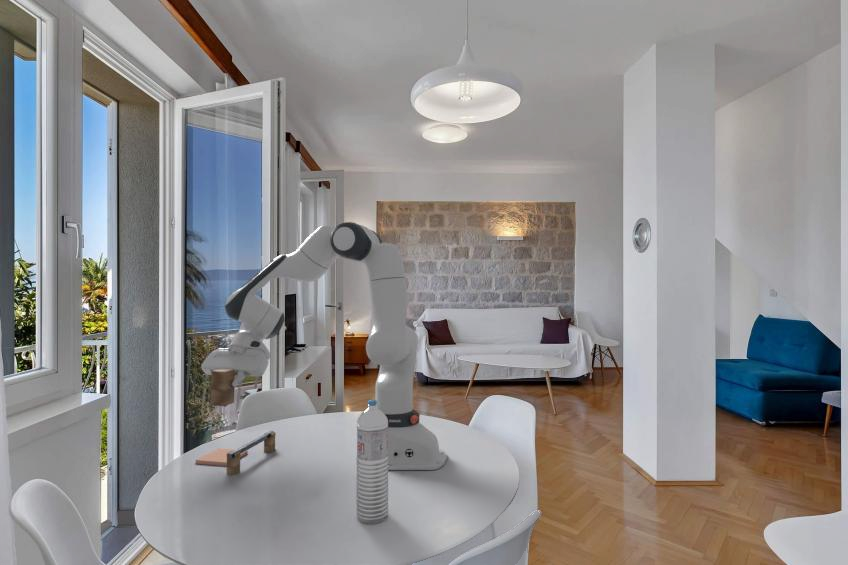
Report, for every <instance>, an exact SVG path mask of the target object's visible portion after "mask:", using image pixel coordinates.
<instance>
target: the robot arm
mask: <svg viewBox="0 0 848 565" xmlns="http://www.w3.org/2000/svg"><path fill="white" fill-rule="evenodd" d="M340 257H341V258H344V259H348V260H351V261H353V262H358V263H363V264H364V265H365V266H366V268H367V274H368V275H367V276H368V285H369V298H370V308H371V309H370V320H369V332H368V333H369V334H368V338H367V340H366V344H365V353H366V356H367V357H368V359H369V360H370V361H371V362H372V363H374V364H376V365H378V366H379V371H378V374H377V379H376V381H375V394H374V395H375V396H374V398H375V399H374V400H376V401H377V403H376V404H377V405H376V407H377V408H378V409H380V410H381V411H382V412H383V413H384V414H385V415H386V417H387V419H388V427H387V428H388V471H435V470H438V469H440V468H441V467H443V466H444V465H445V464H446V462H447V460H448V458H447V452H446V451H445V450H442V449H440V448H439V447H440V446H439V441H438V438H437V436H436V434H435V433H433V432H432V431H431V430H429V429H428V428H427V427H426V426H424V424H422V423H421V422H420V415H421V414H420V411H419V410H418V411H417V410H416V409H414V408H413V407H414V405H413V403H414V402H413V401H414V400H413V397H414V396H413V395H414V394H413V392H414V391H413V385H414V375H415V374H414V373H415V369H416V362H417V360H416V359H417V350H418V346H419V336H418V334H417V332H416V331H415V330H414V329H413V328H411V327H410V326H408V325H406V324H407V322H406V321H407V311H408V306H409V301H408V300H409V299H408V290H407V282H406V281H407V280H406V274H405V273H406V271H405V266H404V262H403V258H402V254H401V251H400V248H399V247H397V245H395V244H392V243H390V242H382V239H381V237H380V236H379V235H378V234H377V232H375V231H374V230H371V229H369V228H368V227H367V226H364V225H363V224H359V223H356V222H352V221H348V222H342V223H340V224H337V225H336V226H335V227H333V226H332V225H331V226H330V225H327V224H326V225H325V224H324V225H321V226H319V227H318V228H316V229H315V230H314V231H313V232H312V233H311V234H310V235H309V236H308V237H307V238H306V239H305V240H304V241H303V243H302V244H301V245H300V246H299V247H298V248H297V249H296V250H295V251H293V252H292V253H289V254H280V255H278V256H276V257H275V258H273V259H272V260H271V261H270V262H269V263H267V264H266V265H265V266H264V267H262V268H261V270H260V271H258V272H257V273H256V274H255V275H254V276H253V277H252V278H250V279H249V280H248V281H247V282H246V283H245V284H243V285H242V286H241V287H240V288H238V289H237V290H235V291H234V292H232V294H230V296H229V297H227V299H226V302H225V304H224V308H225V311H226V315H227V317H229V318H230V319H233V320H235V321H237V322H240V323H241V324H240V326H239V330H238V332H236V333H235V334H234V337H232V339H231V341H230V342H229V345H228V347H227V348H226V347H225V348H223V347H219V348H217V349H214V350H212V352H211V353H209V354H208V356H207V357H206V358H205V359H204V361H203V362H202V364H201V366H200V368H201V370H202V371H203V373H204V374H205V375H206V376H207V375H208V376H210V375H211V372H212V371H214V370H218V369H235V377H234V379H231V382H230V383H229V385H230V387H234V388H237V386H238V384H239V383H241V382H242V381H243V380H244V379H245V378H246V377H254V378H255V377H256V378H257V377H258V378H259V377H262V376H263V375H264V374H265V372H266V370H267V368H268V366H269V360H270V359H271V357H272V356H271V353H270V351H269V349H268V348H267V346H266V344H265V343H264V342H263V341H264V340H270V339H272V338H274V337H276V336H278V334H279V333H280V331H281V329H282V328H283V325H284V324H285V319H286V318H285V314H284V312H283V311H282V309H280V308H278V307H277V306H276V305H274V304H272V303H269V302H268V301H267V300H265V299H263V298H261V297H260V296H259V295H257V293H258V292H259V291H260V290H262V289H263V287H265V286H266V285H267V284H269V282H271V281H272V280H274V279H279V278H280V279H288V280H293V281H296V282H301V283H310V282H311V283H312V282H316V281H318V280H319V279H321V278H322V277H323V276H324V274H326V273H327V271H328V270H329V269H330V268H331V266H332V265H333V263H335V261H336V260H337V259H338V258H340Z"/></svg>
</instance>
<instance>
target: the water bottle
mask: <svg viewBox="0 0 848 565" xmlns="http://www.w3.org/2000/svg"><path fill="white" fill-rule="evenodd" d="M376 403H377V401H376V400H375V399H369V400H368V401H367V406H368V407H367V408H365V409H364V410H363V411H362V412H361V413H360V415H359V416H358V417H357V420H356V428H357V429H356V518H357V520H358V521H359V522H360V523H362V524H364V525H365V524H366V525H376V524H380V523H382V522H384V521H385V520H386V519H387V518H388V515H389V470H388V428H387V427H388V419H387V417H386V415H385V414H384V413H383V412H382V411H381V410H380V409H378V408H377V407H376V405H377V404H376Z"/></svg>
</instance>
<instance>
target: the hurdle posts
mask: <svg viewBox="0 0 848 565" xmlns="http://www.w3.org/2000/svg"><path fill="white" fill-rule="evenodd" d="M268 432H269V431H266V432H265V433H263V435H264V434H266V433H268ZM275 450H276V432H275V431H274V433H272V434H271V437H269V438H268V439H266V440H264V441H263V452H265V453H272V452H274V451H275ZM231 452H232V451H231ZM231 452H229V453H231ZM229 453H227V466H226V475H230V476H235V475H237V474H238V473H240V472H241V458H240V452H238V453H236V454H234V458H232V459H230V458H228V454H229Z"/></svg>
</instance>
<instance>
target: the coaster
mask: <svg viewBox="0 0 848 565" xmlns="http://www.w3.org/2000/svg"><path fill="white" fill-rule="evenodd" d="M234 450H235V449H233V448H232V449H231V448H217V449H215V450H213V451H210V452H209V453H207V454H205V455H203V456H201V457H199V458H197V459H195V464H198V465H209V466H220V467H221V466H223V467H227V453H229V452H231V451H234ZM246 454H247V455H248V450H246V451H245V452H243V453H241V454H240V459H241V458H243V457H245V456H247V455H246Z"/></svg>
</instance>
